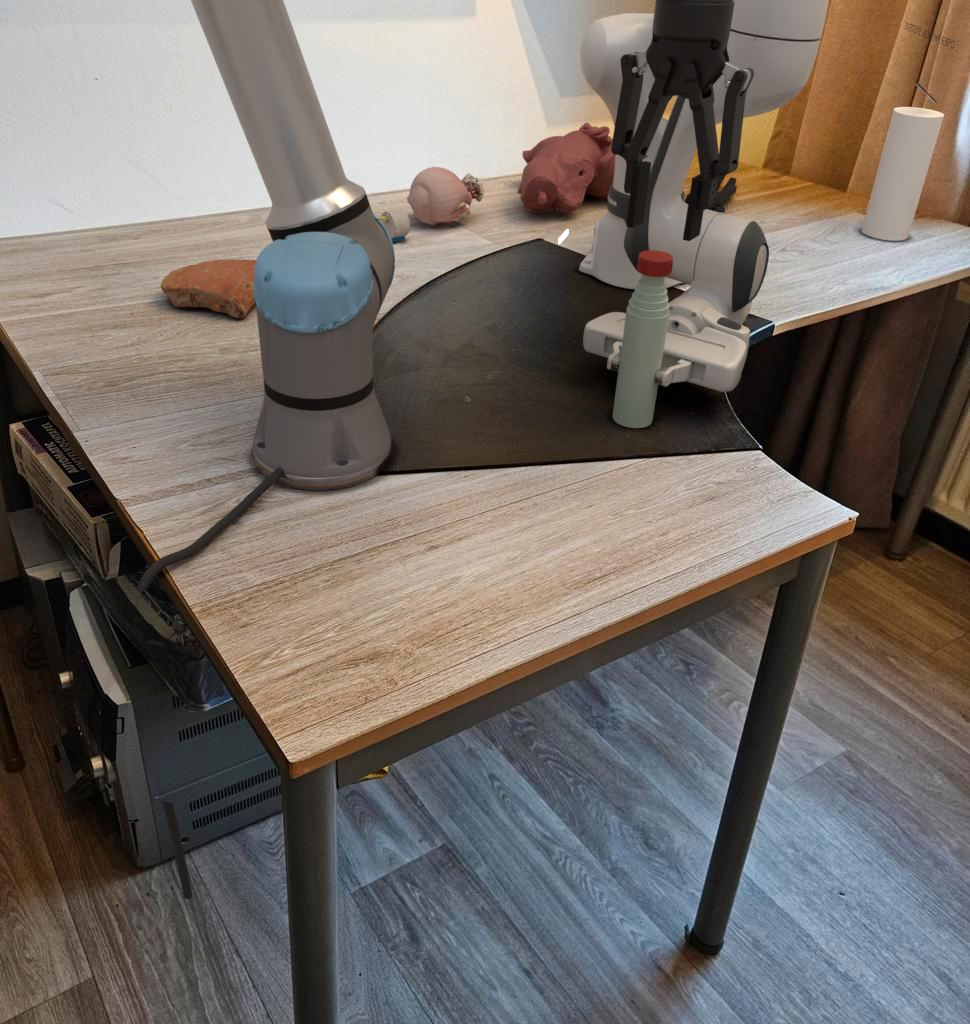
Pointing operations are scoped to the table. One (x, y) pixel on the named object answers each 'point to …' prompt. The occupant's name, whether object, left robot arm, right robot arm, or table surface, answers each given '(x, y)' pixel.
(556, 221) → the table surface
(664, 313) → the bottle
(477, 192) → the toy
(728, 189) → the black piece
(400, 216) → the electric motor
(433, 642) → the table surface
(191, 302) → the ceramic shard
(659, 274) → the cap
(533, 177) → the red pig head
